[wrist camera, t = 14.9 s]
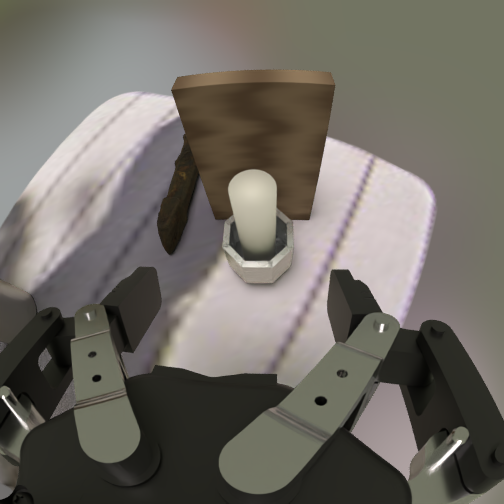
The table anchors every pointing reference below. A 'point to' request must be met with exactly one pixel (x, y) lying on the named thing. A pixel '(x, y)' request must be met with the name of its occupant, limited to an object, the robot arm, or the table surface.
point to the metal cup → (260, 269)
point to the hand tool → (177, 199)
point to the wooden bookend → (257, 131)
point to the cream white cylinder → (255, 213)
